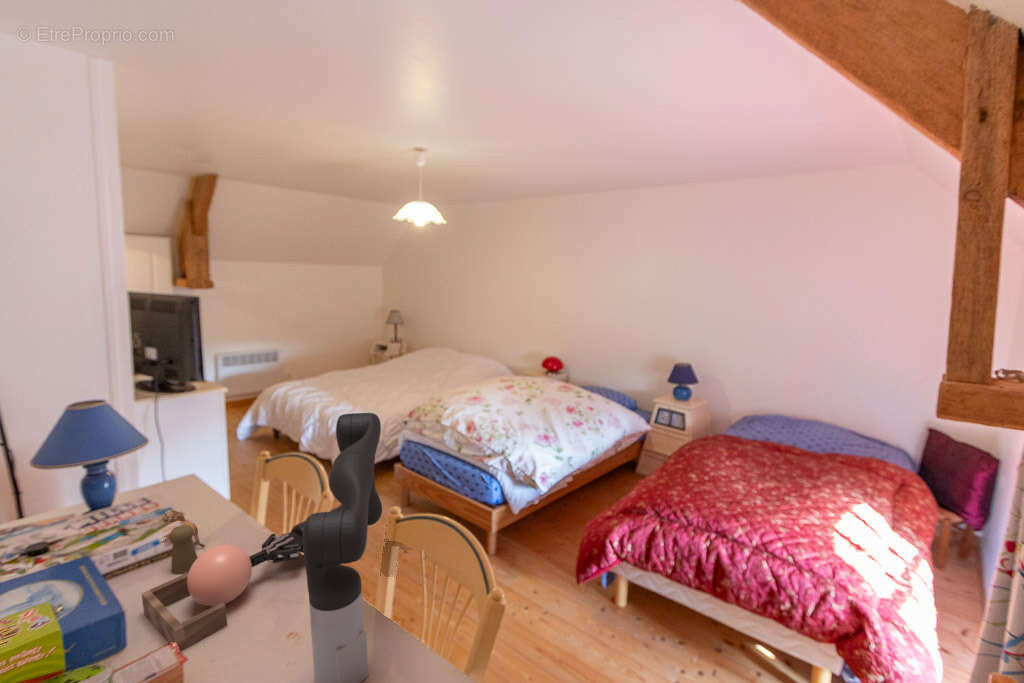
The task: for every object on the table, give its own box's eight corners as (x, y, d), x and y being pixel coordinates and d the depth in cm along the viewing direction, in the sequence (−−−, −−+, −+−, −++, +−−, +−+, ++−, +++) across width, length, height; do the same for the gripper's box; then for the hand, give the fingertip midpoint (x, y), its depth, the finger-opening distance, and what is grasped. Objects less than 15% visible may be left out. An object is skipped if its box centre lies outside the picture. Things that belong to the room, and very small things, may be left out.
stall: (227, 625, 106) (225, 604, 105) (177, 653, 98) (175, 631, 98) (191, 591, 117) (189, 572, 116) (144, 613, 109) (141, 593, 109)
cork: (185, 575, 123) (180, 535, 121) (165, 572, 124) (160, 532, 122) (204, 561, 129) (200, 523, 127) (185, 558, 130) (181, 520, 128)
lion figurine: (158, 543, 137) (154, 514, 135) (176, 533, 142) (173, 505, 140) (196, 553, 132) (193, 522, 131) (214, 543, 137) (211, 513, 136)
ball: (273, 572, 117) (238, 544, 109) (228, 626, 109) (187, 599, 102) (247, 554, 124) (212, 526, 117) (203, 602, 117) (163, 576, 109)
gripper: (300, 511, 135) (235, 539, 121) (327, 526, 127) (261, 558, 114) (302, 536, 136) (237, 566, 123) (329, 553, 129) (264, 587, 115)
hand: (249, 562), depth 118 cm, fingers closed
